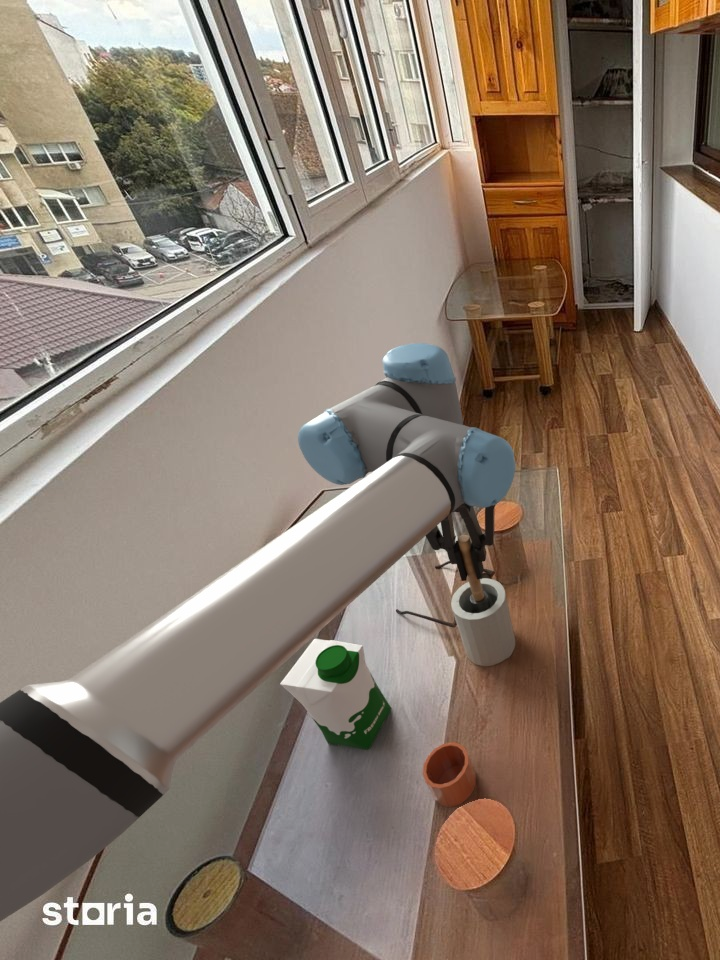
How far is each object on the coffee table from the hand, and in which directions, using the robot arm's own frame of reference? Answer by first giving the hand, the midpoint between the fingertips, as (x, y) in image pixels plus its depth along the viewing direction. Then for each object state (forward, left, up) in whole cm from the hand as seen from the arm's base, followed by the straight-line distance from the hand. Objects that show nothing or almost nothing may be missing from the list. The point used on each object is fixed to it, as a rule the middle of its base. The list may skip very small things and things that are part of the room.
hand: (472, 573), depth 84 cm
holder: (-21, -13, -20) cm, 32 cm away
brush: (0, 0, -12) cm, 12 cm away
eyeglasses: (+3, +16, -20) cm, 26 cm away
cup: (0, 0, -20) cm, 20 cm away
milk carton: (-23, +7, -20) cm, 31 cm away
